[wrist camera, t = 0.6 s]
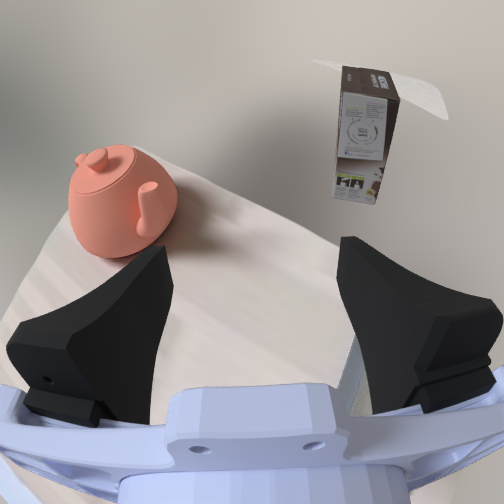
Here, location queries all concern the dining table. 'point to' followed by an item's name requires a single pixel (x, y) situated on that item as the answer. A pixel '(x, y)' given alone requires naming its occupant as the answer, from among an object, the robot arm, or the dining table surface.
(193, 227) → the dining table surface
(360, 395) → the frame
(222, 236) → the dining table surface
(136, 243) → the teapot
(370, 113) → the coffee box
